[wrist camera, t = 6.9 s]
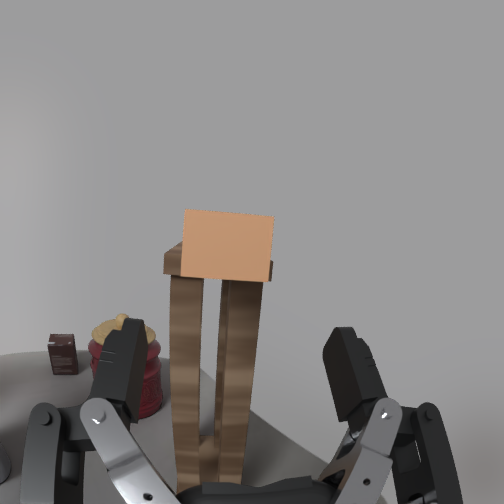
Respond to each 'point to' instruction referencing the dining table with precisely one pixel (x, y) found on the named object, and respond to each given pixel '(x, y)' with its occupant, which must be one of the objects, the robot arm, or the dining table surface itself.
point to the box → (63, 354)
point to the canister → (152, 376)
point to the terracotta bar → (226, 245)
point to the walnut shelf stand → (227, 375)
